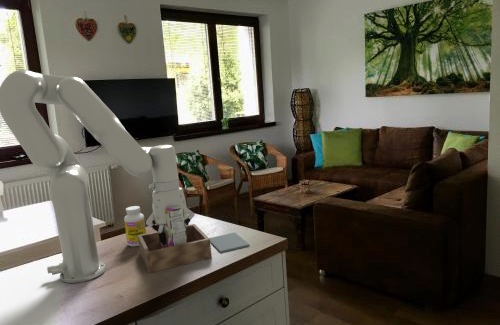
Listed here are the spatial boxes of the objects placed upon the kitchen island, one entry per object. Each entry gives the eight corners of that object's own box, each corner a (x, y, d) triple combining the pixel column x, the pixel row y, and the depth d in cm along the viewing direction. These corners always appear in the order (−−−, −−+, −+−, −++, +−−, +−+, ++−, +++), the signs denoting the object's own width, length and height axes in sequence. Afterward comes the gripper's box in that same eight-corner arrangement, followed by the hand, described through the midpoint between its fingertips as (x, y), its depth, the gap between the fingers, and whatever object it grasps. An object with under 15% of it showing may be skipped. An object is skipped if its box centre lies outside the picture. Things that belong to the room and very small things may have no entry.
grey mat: (220, 252, 130) (220, 251, 130) (207, 240, 142) (207, 238, 142) (249, 245, 134) (249, 244, 134) (235, 234, 146) (234, 232, 146)
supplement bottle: (126, 248, 140) (121, 211, 138) (128, 241, 147) (123, 206, 144) (147, 245, 142) (142, 209, 139) (147, 238, 148) (143, 204, 146)
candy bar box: (160, 252, 134) (154, 203, 131) (174, 248, 137) (169, 200, 134) (174, 263, 125) (168, 210, 122) (189, 258, 128) (184, 207, 125)
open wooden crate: (149, 272, 120) (146, 253, 119) (140, 252, 135) (137, 235, 134) (211, 257, 127) (209, 239, 126) (196, 240, 142) (194, 223, 141)
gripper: (140, 193, 120) (147, 251, 124) (197, 183, 127) (203, 239, 130) (136, 188, 127) (143, 243, 131) (190, 179, 134) (196, 232, 137)
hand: (173, 240), depth 130 cm, fingers closed on candy bar box, 5 cm apart
